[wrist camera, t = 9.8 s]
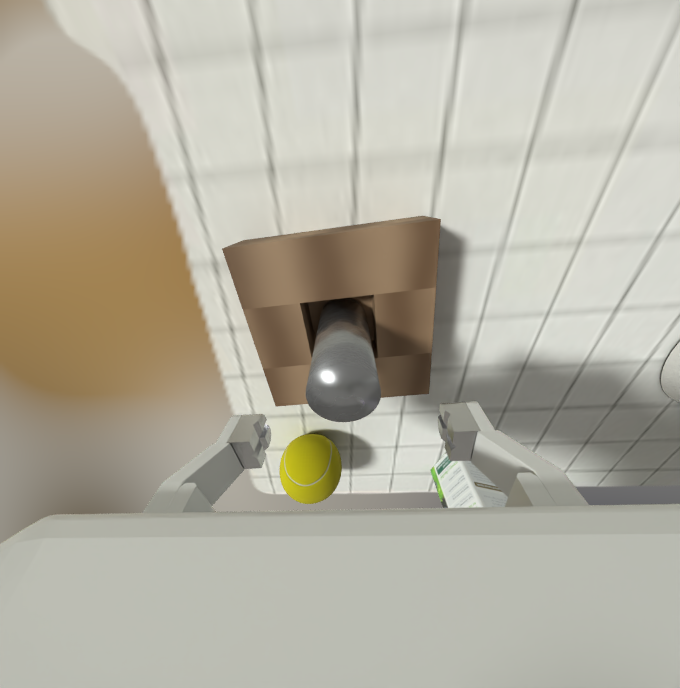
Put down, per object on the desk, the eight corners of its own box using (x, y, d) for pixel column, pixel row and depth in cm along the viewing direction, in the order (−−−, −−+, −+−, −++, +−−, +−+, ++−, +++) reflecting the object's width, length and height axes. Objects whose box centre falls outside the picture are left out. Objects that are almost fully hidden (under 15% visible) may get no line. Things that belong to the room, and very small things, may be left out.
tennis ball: (282, 422, 30) (266, 478, 24) (340, 420, 30) (338, 477, 24) (291, 459, 33) (279, 516, 27) (343, 458, 33) (343, 515, 27)
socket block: (422, 215, 19) (440, 219, 15) (417, 367, 26) (428, 393, 22) (243, 240, 20) (222, 248, 16) (284, 379, 27) (275, 406, 23)
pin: (364, 293, 21) (379, 360, 12) (367, 335, 23) (382, 419, 14) (316, 299, 21) (298, 368, 12) (324, 340, 23) (312, 424, 14)
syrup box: (452, 442, 31) (525, 605, 19) (492, 453, 32) (587, 616, 20) (429, 468, 34) (479, 626, 21) (466, 478, 35) (535, 634, 22)
